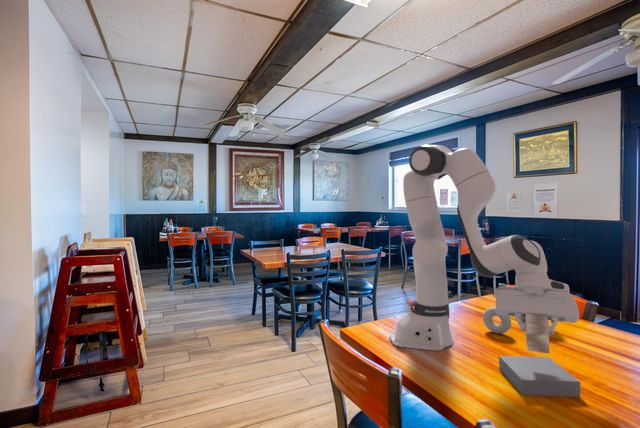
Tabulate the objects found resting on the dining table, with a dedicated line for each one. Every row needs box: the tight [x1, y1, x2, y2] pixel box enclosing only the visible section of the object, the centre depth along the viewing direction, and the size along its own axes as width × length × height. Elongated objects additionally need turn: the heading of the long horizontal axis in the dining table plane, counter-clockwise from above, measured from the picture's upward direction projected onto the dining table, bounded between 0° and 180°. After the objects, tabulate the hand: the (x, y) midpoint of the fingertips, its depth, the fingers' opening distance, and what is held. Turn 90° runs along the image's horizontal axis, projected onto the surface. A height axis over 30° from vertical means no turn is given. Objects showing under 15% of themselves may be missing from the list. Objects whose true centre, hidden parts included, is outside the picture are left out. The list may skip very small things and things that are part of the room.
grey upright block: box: [525, 313, 550, 354], centre depth 92 cm, size 5×5×9 cm
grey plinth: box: [498, 355, 581, 398], centre depth 92 cm, size 14×14×4 cm
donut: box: [482, 306, 512, 335], centre depth 128 cm, size 10×4×10 cm, turn 45°
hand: (537, 331), depth 91 cm, fingers closed on grey upright block, 5 cm apart
